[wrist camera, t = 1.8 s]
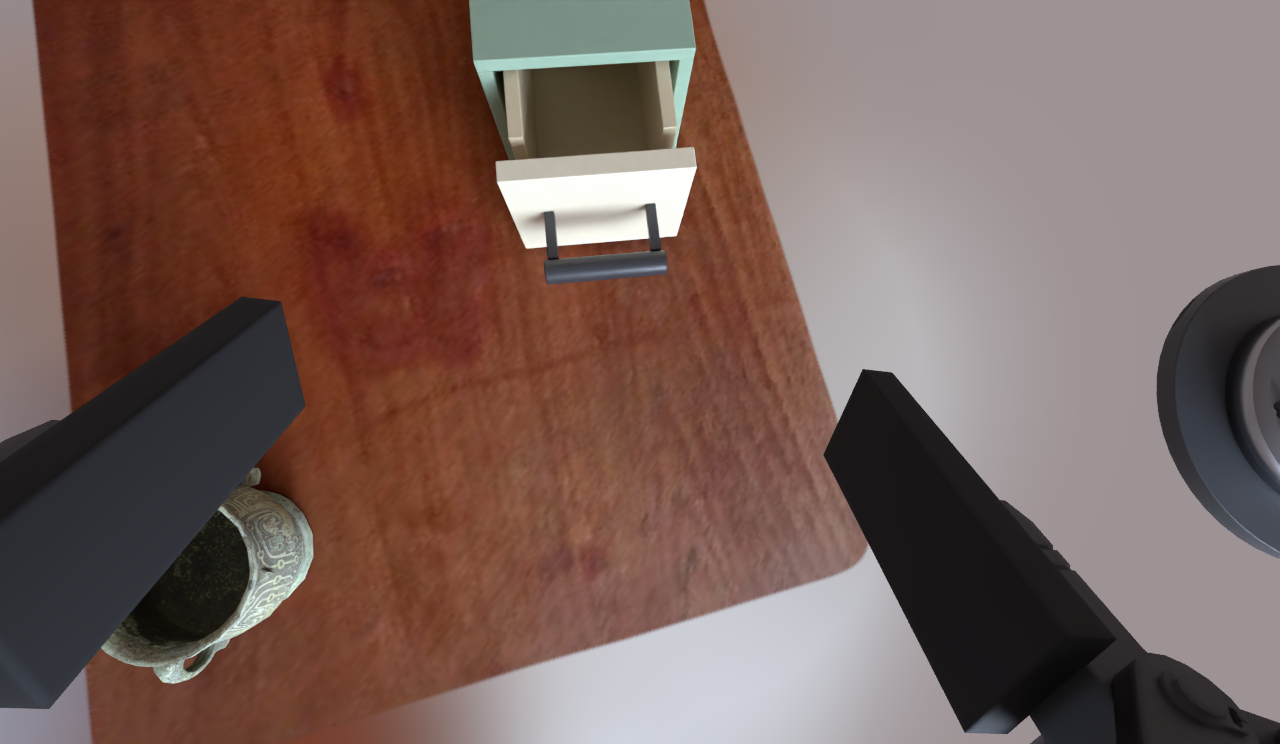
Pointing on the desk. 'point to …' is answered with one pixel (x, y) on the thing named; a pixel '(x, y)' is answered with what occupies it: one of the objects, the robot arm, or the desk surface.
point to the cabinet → (578, 41)
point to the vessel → (218, 584)
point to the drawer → (595, 165)
